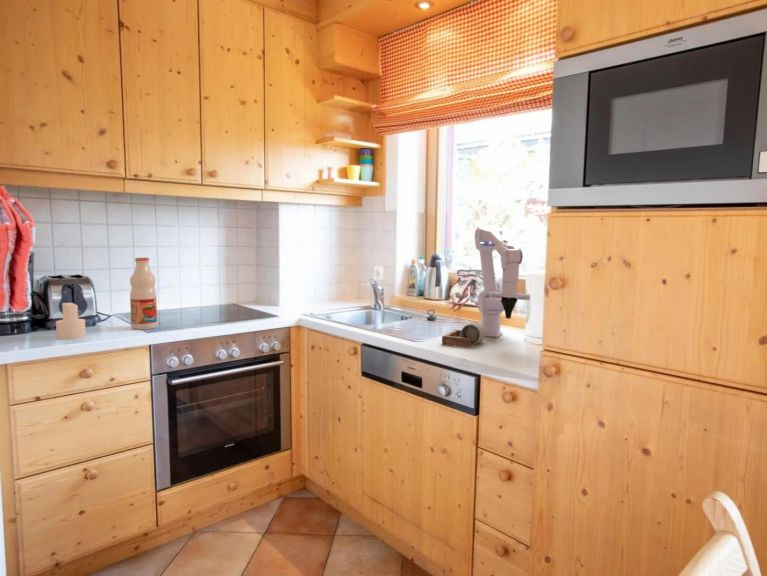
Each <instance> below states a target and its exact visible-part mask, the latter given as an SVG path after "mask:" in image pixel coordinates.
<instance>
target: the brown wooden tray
mask: <svg viewBox="0 0 767 576" xmlns="http://www.w3.org/2000/svg"><path fill="white" fill-rule="evenodd" d="M461 330H462V329H452V331H449V332H447V333H446V334H444V335H442V336H441V338H442V339H441V345H445V344H449V345H448V346H453V345H456V346H455V347H461V346H463V347H462V348H469V347H470V348H471V347H472V345H471V339H470V338H462V337H458V336H461Z"/></svg>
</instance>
